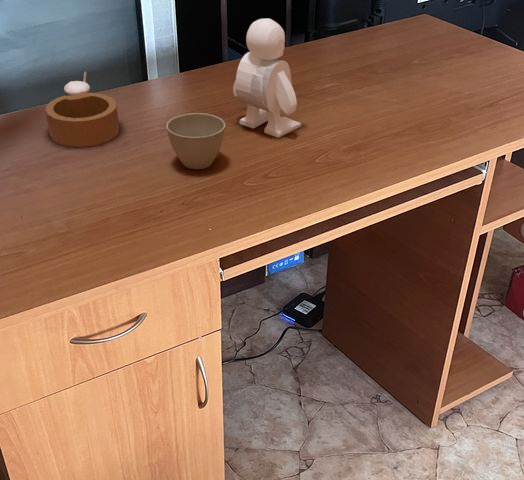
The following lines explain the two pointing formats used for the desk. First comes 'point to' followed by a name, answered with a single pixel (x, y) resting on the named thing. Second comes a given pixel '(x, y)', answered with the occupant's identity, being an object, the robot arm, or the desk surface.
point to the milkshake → (78, 98)
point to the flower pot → (196, 138)
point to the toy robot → (266, 80)
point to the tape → (83, 122)
